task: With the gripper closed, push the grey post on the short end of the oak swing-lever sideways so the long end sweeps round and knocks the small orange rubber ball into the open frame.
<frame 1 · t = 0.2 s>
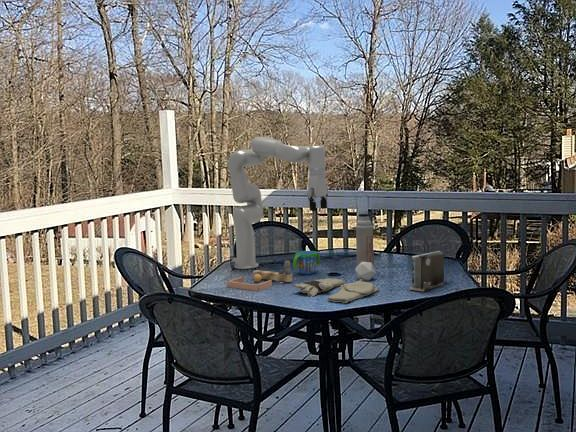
hand: (318, 209, 264), 31 cm above the table, fingers open, 9 cm apart
ball: (257, 281, 259), on the table
lever: (272, 269, 259), point 5 cm above the table, hinge at 0.0°
pair of gloves: (337, 294, 234), on the table
snack cup: (307, 273, 273), on the table
pivot base: (281, 281, 257), on the table
open frame: (249, 286, 251), on the table
thermos bottle: (365, 273, 269), on the table
die: (365, 279, 256), on the table
radio: (427, 286, 239), on the table
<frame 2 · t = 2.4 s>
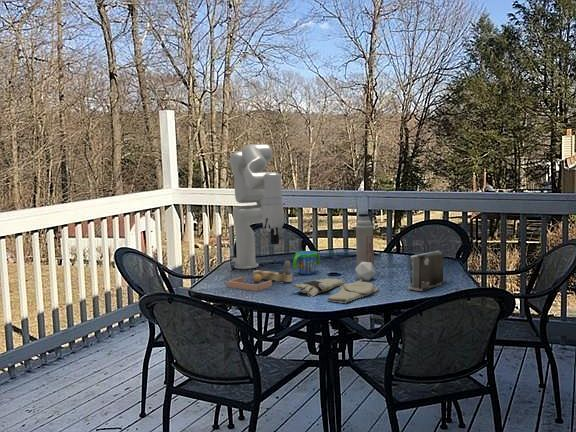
hand: (275, 243, 247), 19 cm above the table, fingers closed
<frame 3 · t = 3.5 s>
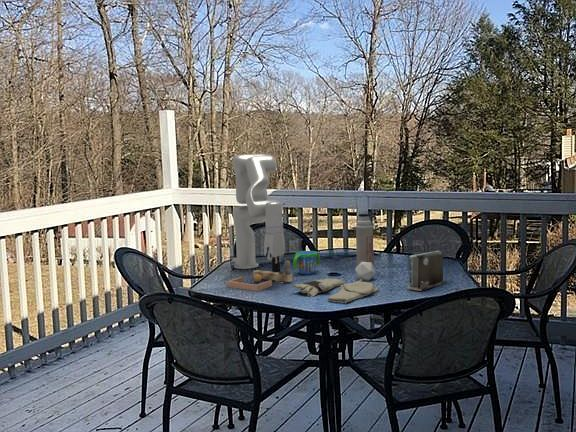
hand: (276, 271, 248), 7 cm above the table, fingers closed
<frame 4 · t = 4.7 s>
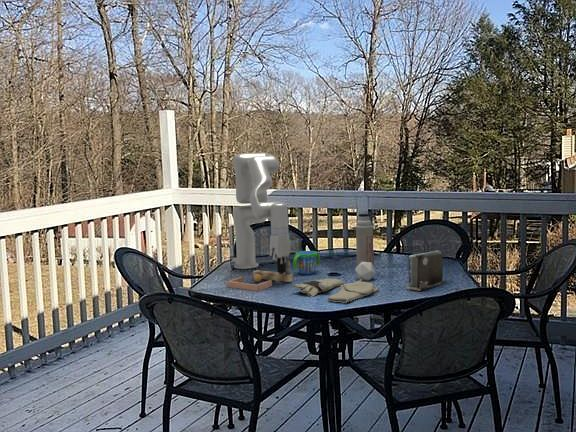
hand: (281, 272, 252), 6 cm above the table, fingers closed
lever: (272, 269, 259), point 5 cm above the table, hinge at 0.5°, touching gripper
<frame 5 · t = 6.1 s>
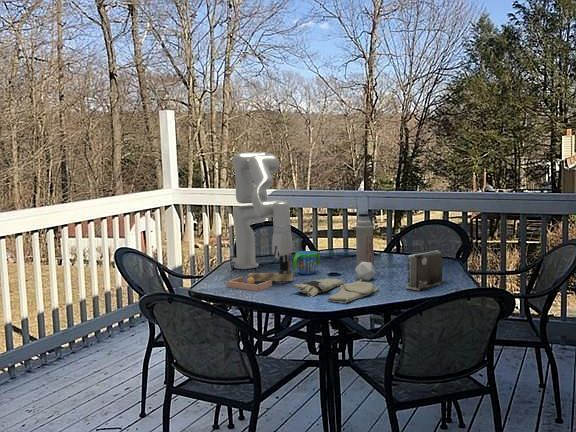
hand: (284, 270, 253), 6 cm above the table, fingers closed
ball: (249, 278, 252), point 3 cm above the table, tilted 149°
lever: (270, 270, 257), point 5 cm above the table, hinge at 26.5°, touching gripper
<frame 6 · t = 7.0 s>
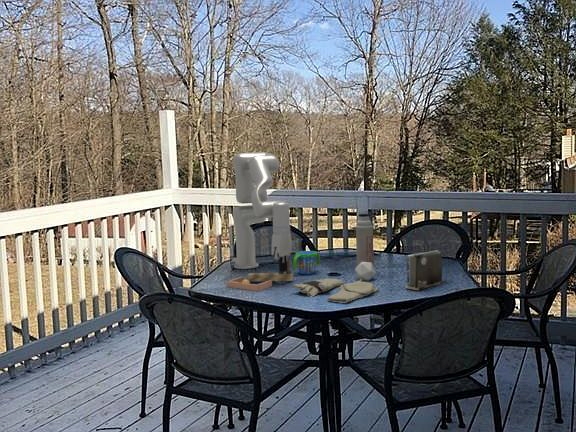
hand: (283, 271, 253), 6 cm above the table, fingers closed
ball: (245, 287, 249), on the table
lever: (270, 270, 257), point 5 cm above the table, hinge at 28.6°
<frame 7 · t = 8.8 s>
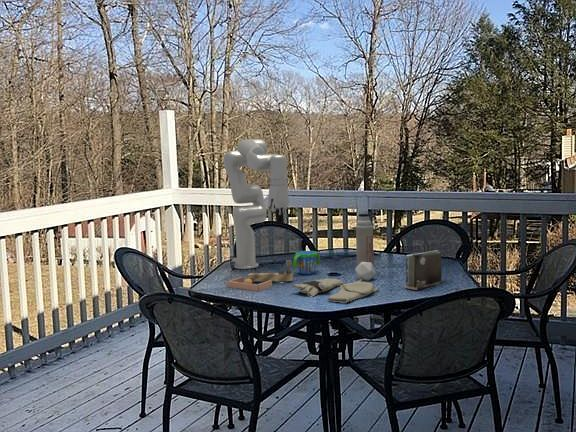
hand: (279, 223, 258), 26 cm above the table, fingers closed
ball: (246, 285, 249), point 1 cm above the table, tilted 55°
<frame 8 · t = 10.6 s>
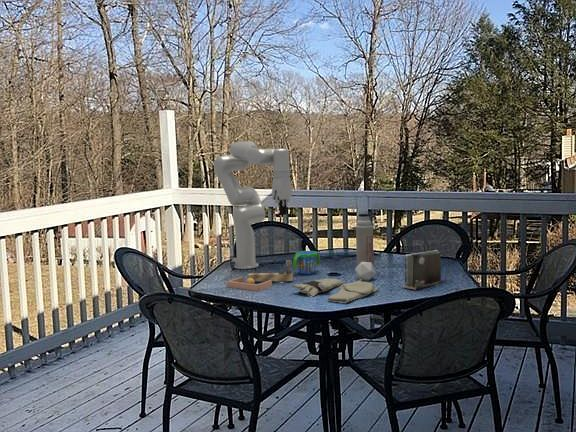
hand: (283, 214, 267), 29 cm above the table, fingers closed
ball: (247, 281, 250), point 2 cm above the table, tilted 107°
at the end: ball inside the target area on the open frame (1.4 cm from its centre), point 2.4 cm above the open frame's base; ball moved 9.9 cm from its start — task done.
